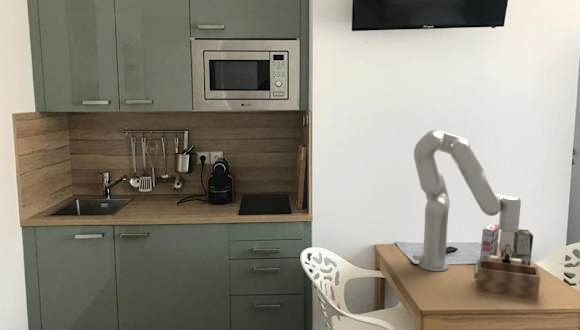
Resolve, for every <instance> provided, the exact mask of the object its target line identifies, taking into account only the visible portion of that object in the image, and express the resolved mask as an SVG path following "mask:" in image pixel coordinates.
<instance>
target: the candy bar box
mask: <svg viewBox="0 0 580 330" xmlns="http://www.w3.org/2000/svg"><path fill="white" fill-rule="evenodd" d="M499 239H500V229H499V224H493V223H489V224H487V225H486V226H485V227H483V228H482V237H481V248H480V258H479V260H487V261H490V255H493V256H498V249H499Z"/></svg>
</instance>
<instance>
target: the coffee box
mask: <svg viewBox="0 0 580 330" xmlns="http://www.w3.org/2000/svg"><path fill="white" fill-rule="evenodd" d="M533 242H534V235H533V233H532V232H530V231H529V230H528V229H519V228H518V231H516V232H515V237H514V246H513V253H512V254H511V258H516V259H521V261H522V262H521V265H526V266H531V263H532V262H531V261H532V252H533V251H532V250H533Z"/></svg>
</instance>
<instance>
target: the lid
mask: <svg viewBox="0 0 580 330" xmlns="http://www.w3.org/2000/svg"><path fill="white" fill-rule="evenodd" d="M502 259H503V257H501V255H500V256H499V255H497V256H493V255H490V261H495V262H502ZM510 260H511V264H518V265H521V262H522V261H521V259H516V258H510ZM477 267H478V262H476V263H475V272H474V276H476V277H477Z"/></svg>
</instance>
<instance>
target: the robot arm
mask: <svg viewBox="0 0 580 330" xmlns="http://www.w3.org/2000/svg"><path fill="white" fill-rule="evenodd" d="M437 151H438V152H439V151H440V152H443V153H445V154H448V155H449V154H450V156H451V158H452V160H453V162H454V163H455V166H456V167H457V168H458V170H459V173H461V175H462V177H463V180H464V181H465V183H466V185H467V187H468V188H469V190H470V191H471V192H470V193H471V194H472V196H473V198H474V199H475V201H476V203H477V205H478V207H479V208H480V210H481V211H482V212H483V214H485V215H487V216H491V217H493V216H497V215H498V214H499V219H498V220H499V222H498V225H499V231H500V233H499V243H498V249H499V250H498V251H499V254H500V257H503V259H502V262H503V263H511V260H510V258H511V254H512V253H513V246H514V237H515V232H516V231H518V229H519V226H520V217H521V205H522V201H521V199H520V197H517V196H514V195H513V196H512V195H502V194H497V193H494V191H493V190H492V187H491V185H490V184H489V181H488V179H487V176H486V172H485V171H484V167H482V165H481V163H480V161H479V160H478V159H477V157H476V154H475V153H474V151H473V149H472V148H471V143H470V142H469V140H468V139H466V138H464V137H461V136H458V135H455V134H450V133H447V132H444V131H441V130H437V129H432V130H429V131H427V133H426V134H424V135H423V136H422V137H421V138H420V139H419V140H418V142H417V143H416V144H415V146H414V151H413V158H414V164H415V168H416V172H417V176H418V180H419V184H420V189H421V190H422V191H423V193H425V194H424V195H425V196H426V197H425V198H426V204H425V209H424V231H423V232H424V234H423V235H424V236H423V248H422V249H423V252H422V254H414V253H413V254H412V259H414V261H419V262H418V266H419V267H420V268H422V269H424V270H425V271H431V272H444V271H447V270H449V263H448V262H446V253H447V242H448V241H447V240H448V239H447V238H448V225H449V224H448V223H449V221H448V220H449V210H450V205H451V203H450V202H451V201H450V197H449V193H448V189H447V185H446V181H445V178H444V175H443V173H441V172H440V171H439V169H438V167H437V162H436V158H435V154H436V152H437Z"/></svg>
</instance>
